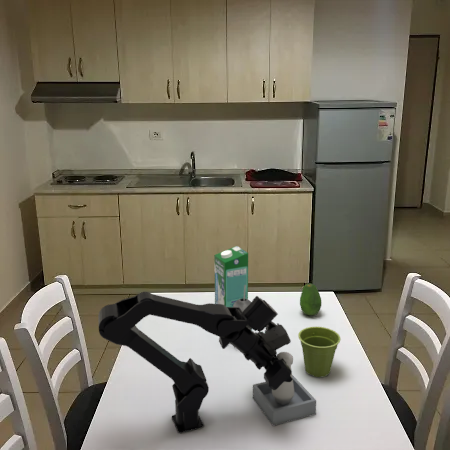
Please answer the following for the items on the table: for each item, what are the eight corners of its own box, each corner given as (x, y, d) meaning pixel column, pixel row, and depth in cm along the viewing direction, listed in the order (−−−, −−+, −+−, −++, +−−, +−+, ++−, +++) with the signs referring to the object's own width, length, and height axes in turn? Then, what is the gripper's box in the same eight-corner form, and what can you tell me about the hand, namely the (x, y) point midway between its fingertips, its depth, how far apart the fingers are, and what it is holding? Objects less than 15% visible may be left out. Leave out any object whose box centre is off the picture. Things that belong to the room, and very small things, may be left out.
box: (315, 414, 121) (316, 400, 120) (273, 426, 117) (273, 411, 116) (292, 387, 132) (292, 375, 131) (252, 397, 128) (252, 384, 127)
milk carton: (214, 313, 177) (214, 248, 170) (236, 308, 180) (237, 245, 174) (225, 323, 169) (224, 256, 162) (248, 318, 172) (248, 252, 166)
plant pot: (288, 366, 142) (290, 332, 139) (320, 356, 148) (322, 323, 145) (313, 387, 132) (315, 350, 129) (347, 375, 138) (349, 340, 135)
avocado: (296, 310, 179) (298, 280, 175) (317, 309, 179) (319, 279, 176) (302, 320, 171) (303, 289, 168) (323, 319, 172) (325, 288, 168)
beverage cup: (227, 346, 154) (227, 288, 148) (237, 336, 160) (238, 280, 155) (248, 351, 150) (249, 292, 145) (258, 341, 157) (258, 284, 151)
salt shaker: (287, 409, 120) (289, 363, 117) (267, 401, 123) (268, 356, 120) (297, 397, 125) (300, 353, 121) (278, 390, 128) (280, 346, 124)
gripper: (285, 337, 108) (326, 373, 114) (258, 303, 126) (296, 336, 131) (250, 372, 108) (294, 407, 114) (229, 333, 126) (268, 365, 131)
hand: (288, 376), depth 123 cm, fingers closed on salt shaker, 3 cm apart
